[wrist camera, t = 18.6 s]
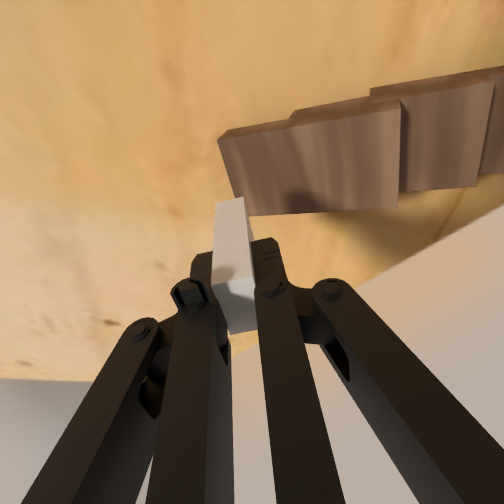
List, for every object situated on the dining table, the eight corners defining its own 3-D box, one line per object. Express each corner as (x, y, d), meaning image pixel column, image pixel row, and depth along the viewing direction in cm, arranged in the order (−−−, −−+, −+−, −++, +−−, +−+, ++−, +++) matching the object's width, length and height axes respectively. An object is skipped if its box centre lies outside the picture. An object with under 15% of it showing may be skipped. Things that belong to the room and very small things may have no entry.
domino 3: (369, 181, 23) (558, 169, 19) (369, 95, 20) (601, 57, 16) (369, 170, 25) (545, 156, 20) (370, 88, 21) (581, 52, 17)
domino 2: (302, 199, 23) (475, 186, 19) (288, 119, 20) (494, 81, 16) (307, 187, 25) (468, 172, 21) (294, 110, 22) (485, 73, 17)
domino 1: (241, 216, 24) (398, 207, 19) (217, 140, 20) (400, 108, 16) (249, 203, 25) (396, 192, 21) (227, 130, 22) (399, 98, 18)
